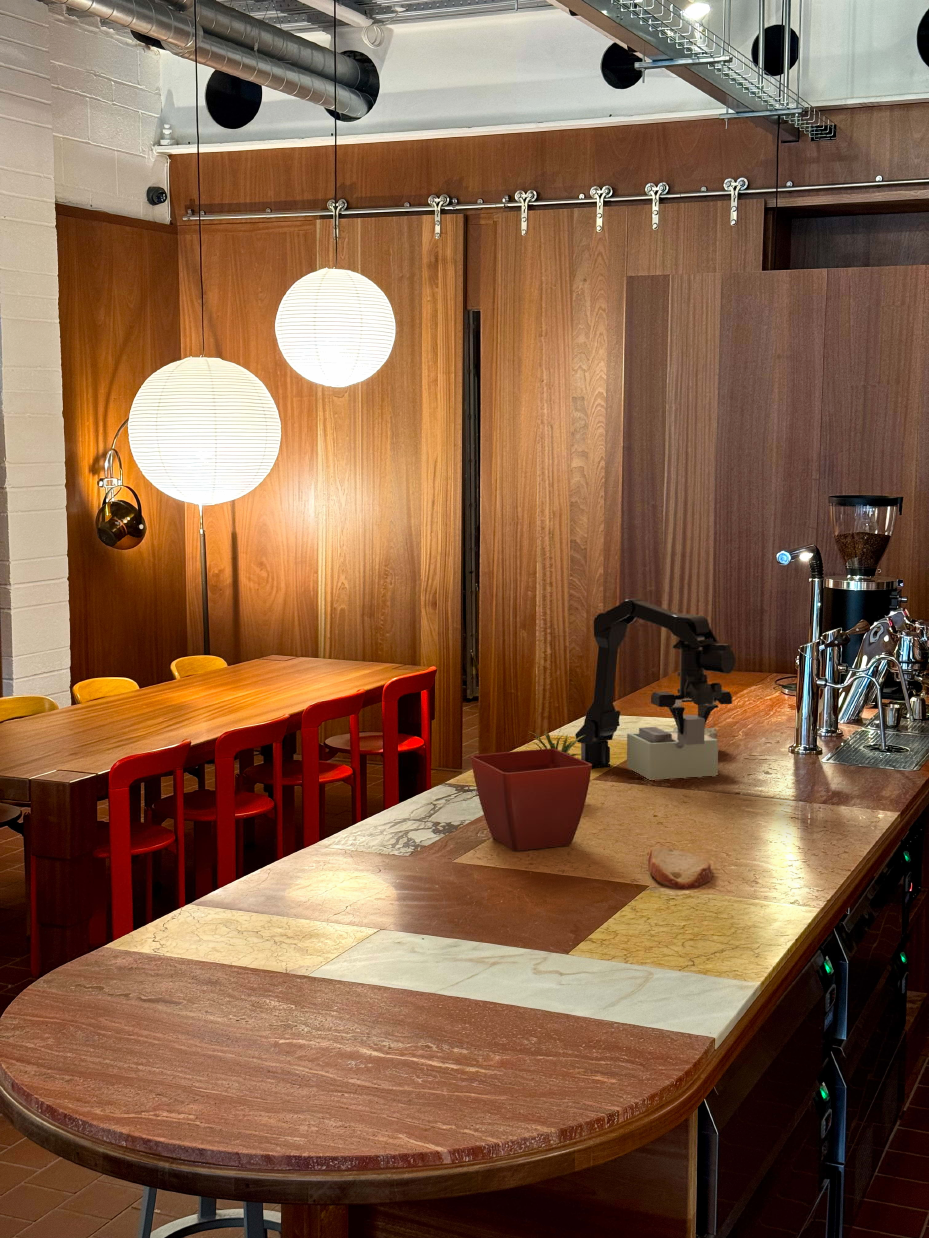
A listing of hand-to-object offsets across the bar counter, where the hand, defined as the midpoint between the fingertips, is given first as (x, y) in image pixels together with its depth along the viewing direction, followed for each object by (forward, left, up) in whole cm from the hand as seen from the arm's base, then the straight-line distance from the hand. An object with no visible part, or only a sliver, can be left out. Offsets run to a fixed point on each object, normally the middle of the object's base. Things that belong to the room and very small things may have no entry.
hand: (690, 733), depth 322 cm
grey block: (0, 0, -2) cm, 2 cm away
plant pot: (-52, -38, -12) cm, 66 cm away
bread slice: (-33, -65, -13) cm, 75 cm away
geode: (+15, +32, -12) cm, 38 cm away
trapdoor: (+2, +13, -6) cm, 14 cm away
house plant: (-36, -4, -12) cm, 39 cm away
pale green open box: (+1, +13, -12) cm, 18 cm away
